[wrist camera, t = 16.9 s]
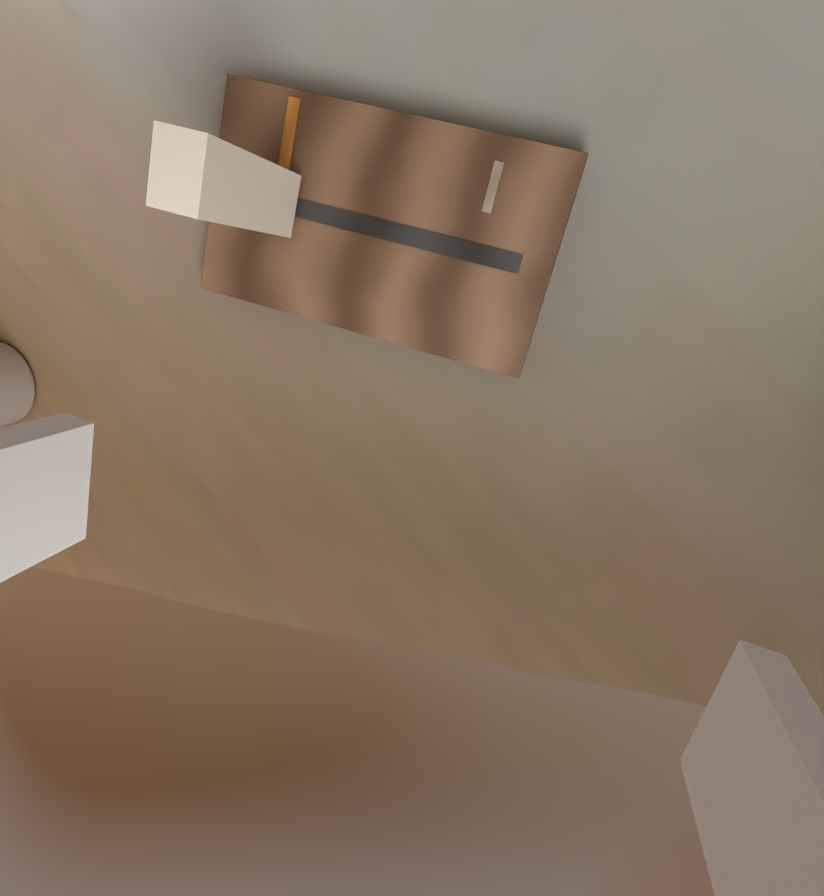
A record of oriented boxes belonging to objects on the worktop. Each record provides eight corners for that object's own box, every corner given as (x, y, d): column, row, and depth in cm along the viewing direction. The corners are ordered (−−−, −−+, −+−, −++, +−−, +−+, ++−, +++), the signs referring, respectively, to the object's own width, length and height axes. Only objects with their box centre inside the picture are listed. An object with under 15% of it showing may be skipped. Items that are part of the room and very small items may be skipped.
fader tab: (301, 175, 39) (208, 133, 28) (290, 238, 40) (197, 219, 29) (260, 165, 39) (153, 120, 29) (251, 227, 40) (145, 205, 30)
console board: (586, 160, 37) (588, 152, 35) (520, 374, 41) (518, 378, 39) (242, 84, 40) (226, 73, 38) (215, 287, 45) (199, 287, 43)
